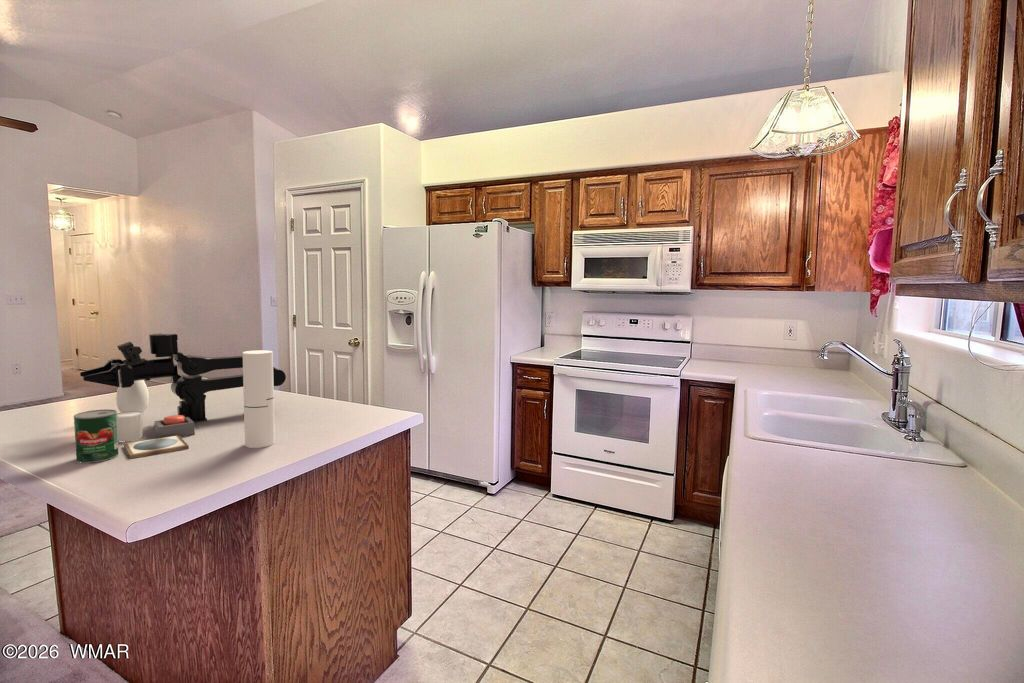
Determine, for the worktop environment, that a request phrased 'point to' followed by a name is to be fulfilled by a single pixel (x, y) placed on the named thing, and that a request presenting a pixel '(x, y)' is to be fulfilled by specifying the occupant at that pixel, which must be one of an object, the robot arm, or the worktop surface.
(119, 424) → the white cup
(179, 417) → the button
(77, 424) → the canned tomato
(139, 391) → the sauce bottle
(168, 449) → the wooden picture frame
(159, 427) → the button housing
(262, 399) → the cylindrical container
